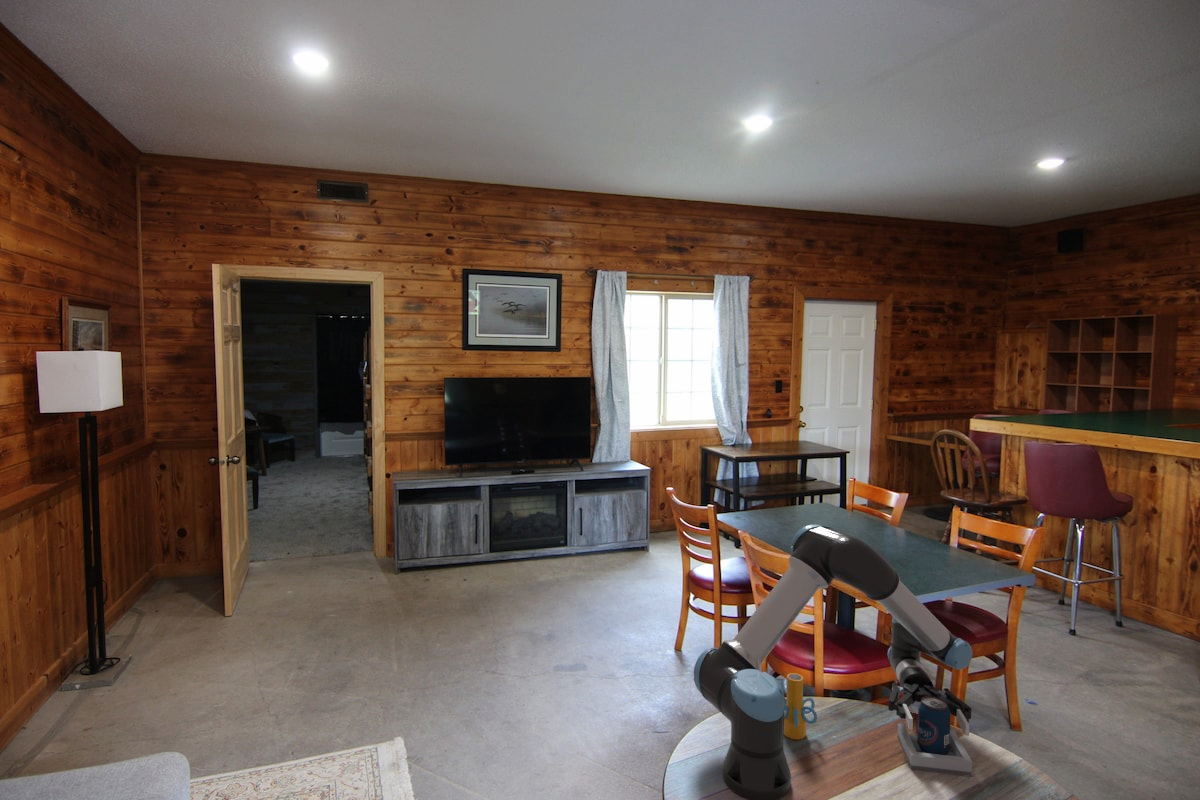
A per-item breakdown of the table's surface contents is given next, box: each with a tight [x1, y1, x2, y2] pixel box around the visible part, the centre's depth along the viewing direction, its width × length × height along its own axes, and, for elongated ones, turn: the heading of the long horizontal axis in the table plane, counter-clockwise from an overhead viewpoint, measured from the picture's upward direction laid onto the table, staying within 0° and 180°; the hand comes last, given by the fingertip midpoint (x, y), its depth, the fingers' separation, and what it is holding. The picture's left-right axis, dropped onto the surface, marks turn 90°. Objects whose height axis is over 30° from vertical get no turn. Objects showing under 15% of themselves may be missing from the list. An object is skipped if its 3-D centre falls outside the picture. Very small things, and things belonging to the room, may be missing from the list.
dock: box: [897, 723, 973, 777], centre depth 158 cm, size 13×13×4 cm
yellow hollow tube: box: [784, 672, 818, 740], centre depth 167 cm, size 12×10×15 cm
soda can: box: [917, 696, 951, 755], centre depth 158 cm, size 7×7×12 cm
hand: (939, 727), depth 154 cm, fingers open, 11 cm apart
